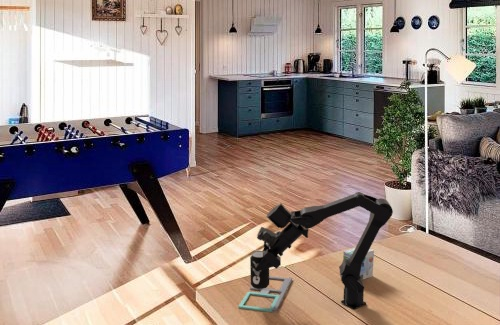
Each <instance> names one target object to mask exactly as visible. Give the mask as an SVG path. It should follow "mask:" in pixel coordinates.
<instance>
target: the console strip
mask: <svg viewBox="0 0 500 325" xmlns="http://www.w3.org/2000/svg"><path fill="white" fill-rule="evenodd" d="M287 278H288V280H287V282H286V284H285V286H284V288H283V290H282V292H281V293H279V295H280V296H279V298H278V300H277V302H276V304H275V306H274V308H273V312H272V313H277V311H278V310H279V308H280V306H281V303H282V302H283V300H284V297H285V295H286V294H287V291H288V289H289V287H290V285H291V283H292V281H293V277H287ZM259 293H265V294H270V293H271V292H270V290H261V291H259Z"/></svg>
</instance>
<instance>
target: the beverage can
mask: <svg viewBox="0 0 500 325" xmlns="http://www.w3.org/2000/svg"><path fill="white" fill-rule="evenodd" d="M263 252H265V251H262V250H255V251H252V252H251V255H250V259H249V261H250V262H249V263H250V268H249V270H250V273H249V274H250V285H251V286H252V287H254V288H256V289H264V288H268V286H269V285H270V279H269V276H270V268H267V269H264V270H260V271H255V268H256V266H257V265H258V264H259V262H260V261H261V260H262V259H263Z"/></svg>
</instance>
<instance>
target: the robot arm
mask: <svg viewBox="0 0 500 325" xmlns="http://www.w3.org/2000/svg"><path fill="white" fill-rule="evenodd" d="M358 207H360V208H362V209H364V210H366V211H367V212H369V218H368V221H367V224H366V225H365V228H364V230H363V232H362V234H361V236H360V238H359V239H358V240H359V241H358V242H357V244H356V246H355V247H354V248H355V250H354V252H353V254H352V256H351V257H350V258H349V259H348V260H347V259H345V258H344V259H342V262H341V264H340V265H339V266H338V268H339V276H340V281H341V283H342V284H343V286H344V288H343V300H340V303H341V304H343V305H345V306H347V307H348V308H351V309H353V310H355V309H359V308H361V307H363V306H366V305H367V302H366V301H364V297H365V296H364V295H365V294H364V292H365V284H364V282H363V280H362V279H361V276H360V272H361V266H362V263H363V261H364V259H365V257H366V255H367V253H368V251H369V249H371V247H372V245H373V242H374V241H375V239H376V237H377V235H378V234H379V231H380V230H381V229H382V227H383V226H385V225H386V224H387V223H388V222H389V220H390V219H391V217H392V216H393V213H394V210H393V208H392V205H391V204H390V202H389V201H388V200H387V199H385V198H377V197H374V196H373V195H368V194H366V193H363V192H362V191H356V192H355V193H354V194H350V195H348V196H345V197H342V198H339V199H337V200H334V201H331V202H329V203H326V204H322V205H312V206H306V207H304V208H303V207H302V208H301V210H294V211H290V210H288V209H287V208H286V207H285V206H284V205H283V203H281V202H280V203H279V204H278V205H276V206H274V207H273V208H271V209H270V211H268V213H267V214H266V218H267V219H268V220H270V222H271V223H272V224H273V225H274V226H275V227H277V229H282V230H277V231H276V232H275V231H273V230H270V229H268V228H265V227H263V226H261V227H260V228H259V231H258V233H257V236H256V238H257V240H259V241H263V249H262V250H261V251H265V252H263V259H262V260H261V261H260V262H259V264H258V265H257V266H256V268H255V271H260V270H264V269H267V268H269V269H270V268H274V269H278V268H279V267H280V266H281V265H282V264H281V262H282V261H281V259H282V256H283V255H284V253H285V251H286V250H287V249H291V248H292V245H293V243H295V242H296V241H297V240H298V239H300V237H301V236H303V237H304V238H306V239H308V238H309V236H308V235H309V229H312V228H314V227H315V226H317V225H319V224H321V223H323V221H324V220H326V219H328V218H332V217H333V216H336V215H339V214H341V213H344V212H347V211H350V210H353V209H355V208H356V209H357V208H358Z"/></svg>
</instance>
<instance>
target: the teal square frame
mask: <svg viewBox="0 0 500 325" xmlns="http://www.w3.org/2000/svg"><path fill="white" fill-rule="evenodd" d="M250 296H258V297H266V298H272V299H273V298H274V299H273V302H272V303H271V305H270V307H269V308H267V307H260V306H251V305H245V304H246V302H247V300H248V299H249V297H250ZM279 296H280V294H271V293H269V294H265V293H260V292H257V291H247V292H246V294H245V295H244V297H243V298H242V300H241V301H240V303H239V304H238V306H237V307H238V309H244V310H250V311H260V312H269V313H274V312H273V308H274V306H275V304H276V302H277V300H278V298H279Z"/></svg>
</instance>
